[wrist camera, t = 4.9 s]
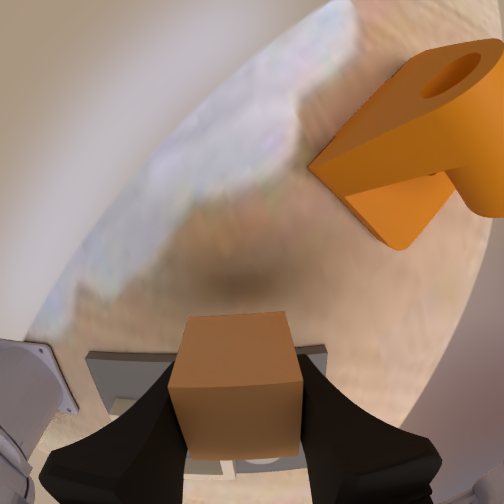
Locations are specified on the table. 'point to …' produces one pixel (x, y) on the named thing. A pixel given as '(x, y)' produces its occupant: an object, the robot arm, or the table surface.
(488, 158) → the bracket
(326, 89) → the table surface
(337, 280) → the table surface
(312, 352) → the board
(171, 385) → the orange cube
